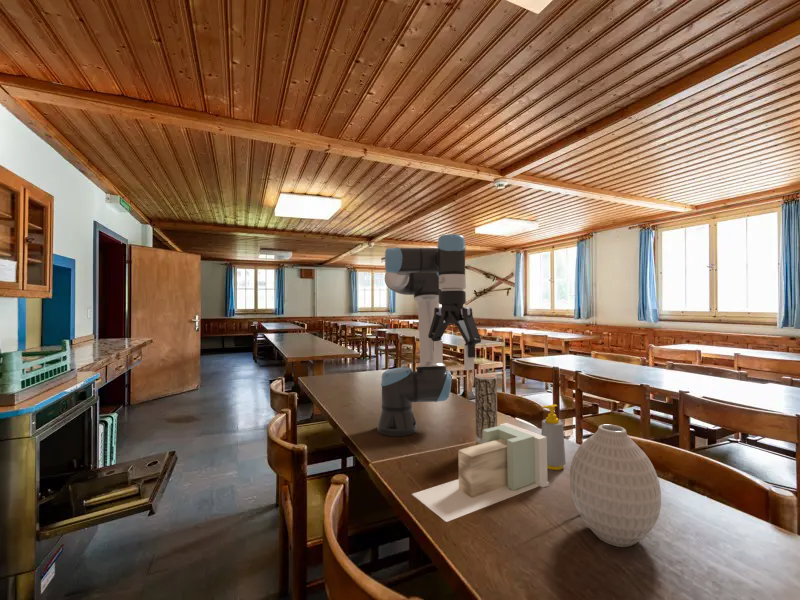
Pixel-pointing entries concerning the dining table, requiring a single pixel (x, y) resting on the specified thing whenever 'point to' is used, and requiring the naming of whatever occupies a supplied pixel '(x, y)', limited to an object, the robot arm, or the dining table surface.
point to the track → (457, 503)
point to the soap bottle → (554, 440)
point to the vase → (615, 487)
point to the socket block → (515, 454)
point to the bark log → (485, 403)
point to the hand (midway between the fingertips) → (452, 366)
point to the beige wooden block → (483, 467)
